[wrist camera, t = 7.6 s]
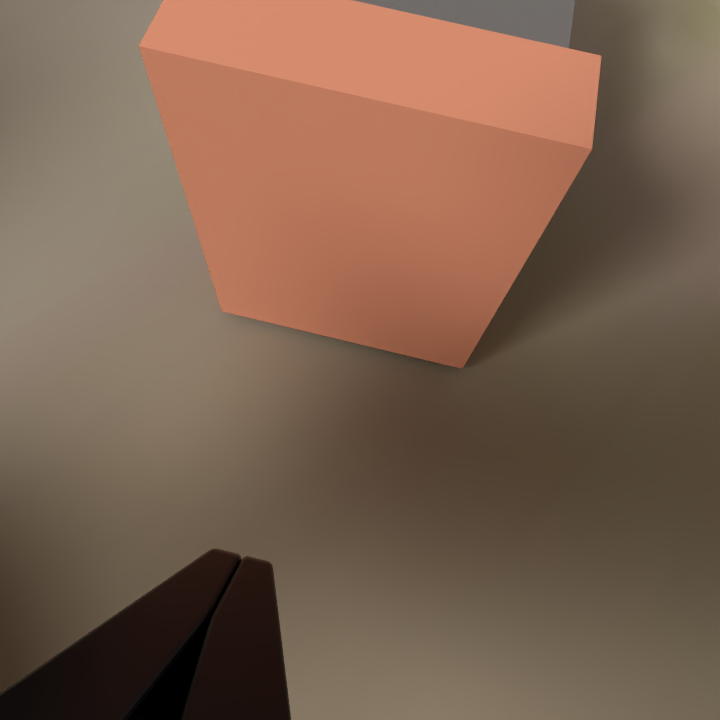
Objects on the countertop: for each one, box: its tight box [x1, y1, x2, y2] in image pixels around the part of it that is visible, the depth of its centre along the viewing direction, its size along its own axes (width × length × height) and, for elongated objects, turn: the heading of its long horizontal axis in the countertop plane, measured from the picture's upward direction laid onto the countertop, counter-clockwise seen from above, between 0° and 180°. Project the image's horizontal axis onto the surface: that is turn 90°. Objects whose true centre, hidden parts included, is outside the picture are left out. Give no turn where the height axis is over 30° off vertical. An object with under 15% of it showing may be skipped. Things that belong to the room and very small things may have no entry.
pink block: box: [139, 0, 601, 369], centre depth 15 cm, size 10×7×9 cm, turn 167°
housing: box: [353, 0, 575, 48], centre depth 17 cm, size 10×7×7 cm
